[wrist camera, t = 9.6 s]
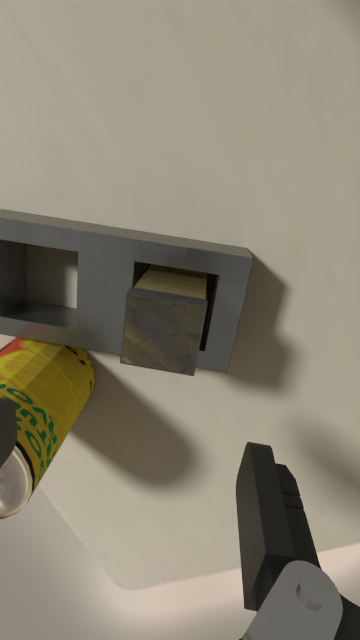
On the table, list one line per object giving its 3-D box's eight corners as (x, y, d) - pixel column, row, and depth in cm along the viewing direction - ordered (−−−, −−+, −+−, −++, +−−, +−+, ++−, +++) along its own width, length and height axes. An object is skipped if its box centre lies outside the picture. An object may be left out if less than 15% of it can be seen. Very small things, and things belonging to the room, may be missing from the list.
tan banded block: (152, 260, 27) (126, 292, 19) (208, 270, 27) (207, 306, 18) (146, 312, 29) (120, 363, 20) (198, 321, 29) (193, 376, 20)
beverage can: (64, 314, 29) (-26, 390, 18) (112, 394, 32) (59, 503, 21) (-14, 349, 32) (-137, 435, 20) (37, 421, 34) (-47, 532, 23)
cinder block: (0, 208, 26) (-35, 211, 23) (247, 248, 26) (253, 258, 22) (6, 312, 30) (-23, 330, 26) (225, 349, 29) (227, 372, 26)
